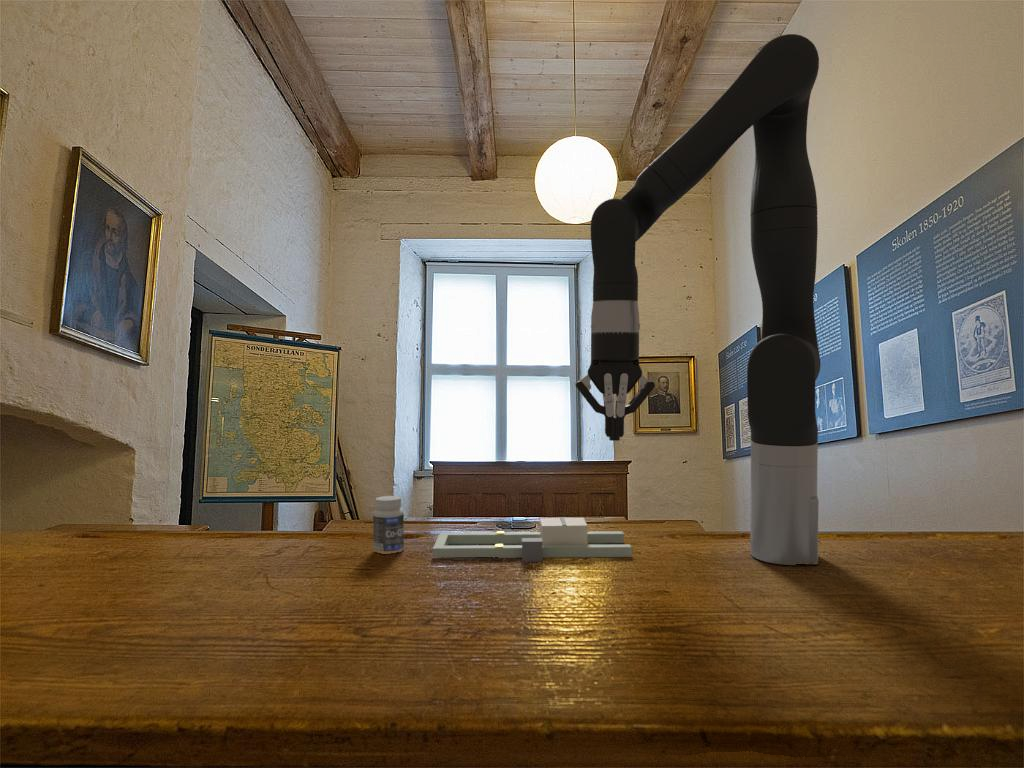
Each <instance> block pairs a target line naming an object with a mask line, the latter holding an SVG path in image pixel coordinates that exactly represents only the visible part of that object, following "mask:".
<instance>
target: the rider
mask: <svg viewBox="0 0 1024 768" xmlns="http://www.w3.org/2000/svg"><path fill="white" fill-rule="evenodd" d="M539 532H540V538H542V545H588V543H587V532H588V524H587V522H586V520H585V518H584V517H563V516H562V517H546V518H545V517H541V518H540V519H539Z"/></svg>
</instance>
